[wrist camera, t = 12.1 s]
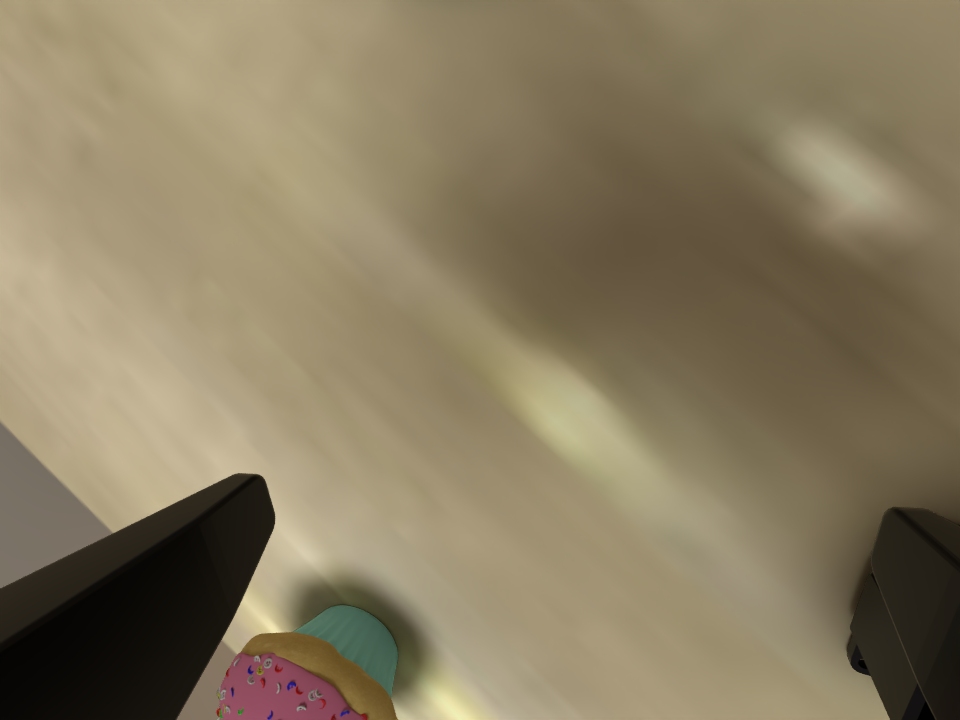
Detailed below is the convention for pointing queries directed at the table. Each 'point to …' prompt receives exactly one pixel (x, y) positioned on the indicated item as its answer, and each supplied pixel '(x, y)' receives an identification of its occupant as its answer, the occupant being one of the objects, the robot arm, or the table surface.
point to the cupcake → (314, 672)
